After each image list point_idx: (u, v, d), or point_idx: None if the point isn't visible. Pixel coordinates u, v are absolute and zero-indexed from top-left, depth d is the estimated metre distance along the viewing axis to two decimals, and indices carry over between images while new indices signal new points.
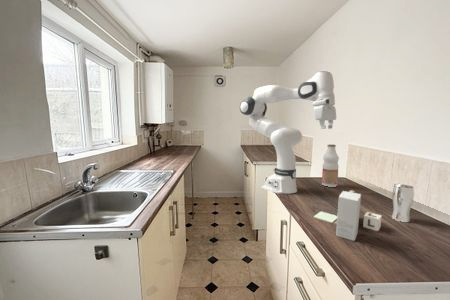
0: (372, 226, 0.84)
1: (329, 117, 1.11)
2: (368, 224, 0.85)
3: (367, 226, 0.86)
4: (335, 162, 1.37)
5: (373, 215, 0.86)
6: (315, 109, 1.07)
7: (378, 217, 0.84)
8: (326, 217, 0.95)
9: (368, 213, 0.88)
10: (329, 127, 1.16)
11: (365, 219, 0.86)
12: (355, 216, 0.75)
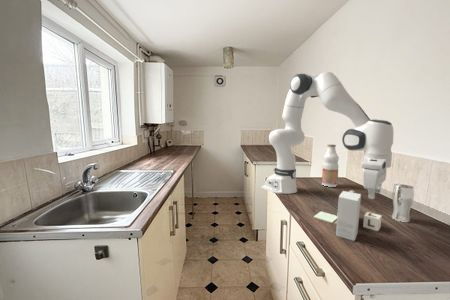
0: (372, 226, 0.84)
1: (380, 182, 0.83)
2: (368, 224, 0.85)
3: (367, 226, 0.86)
4: (335, 162, 1.37)
5: (373, 215, 0.86)
6: (365, 174, 0.78)
7: (378, 217, 0.84)
8: (326, 217, 0.95)
9: (368, 213, 0.88)
10: (376, 191, 0.88)
11: (365, 219, 0.86)
12: (355, 216, 0.75)
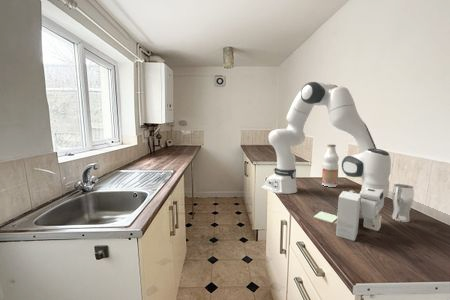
0: None
1: (378, 210, 0.84)
2: None
3: (367, 226, 0.86)
4: (335, 162, 1.37)
5: None
6: (363, 204, 0.80)
7: (378, 217, 0.84)
8: (326, 217, 0.95)
9: None
10: None
11: (365, 219, 0.86)
12: (355, 216, 0.75)
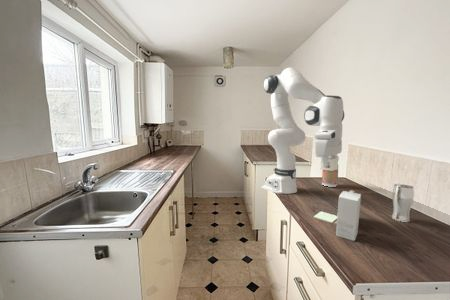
0: (327, 166, 0.91)
1: (333, 152, 0.91)
2: None
3: (324, 167, 0.92)
4: None
5: (330, 157, 0.92)
6: (317, 143, 0.86)
7: (333, 158, 0.91)
8: (326, 217, 0.95)
9: None
10: None
11: (322, 161, 0.92)
12: (355, 216, 0.75)
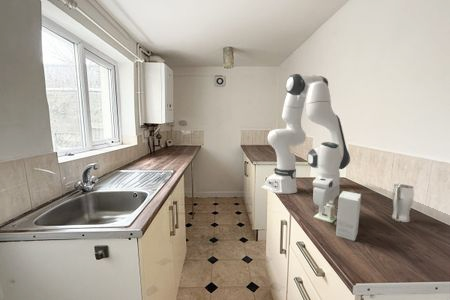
0: (325, 215, 0.93)
1: (330, 198, 0.93)
2: (322, 214, 0.94)
3: (321, 215, 0.95)
4: None
5: (327, 205, 0.95)
6: (315, 191, 0.89)
7: (331, 207, 0.93)
8: None
9: None
10: None
11: None
12: (355, 216, 0.75)
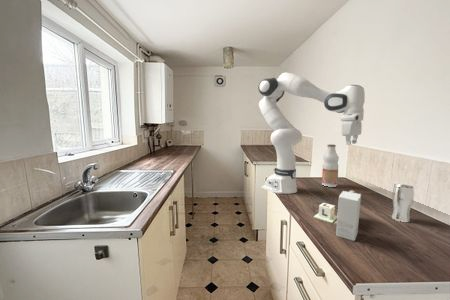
0: (325, 215, 0.93)
1: (355, 133, 1.08)
2: (322, 214, 0.94)
3: (321, 215, 0.95)
4: (335, 162, 1.37)
5: (327, 205, 0.95)
6: (343, 124, 1.04)
7: (331, 207, 0.93)
8: None
9: (323, 204, 0.97)
10: (353, 142, 1.14)
11: (320, 209, 0.95)
12: (355, 216, 0.75)
